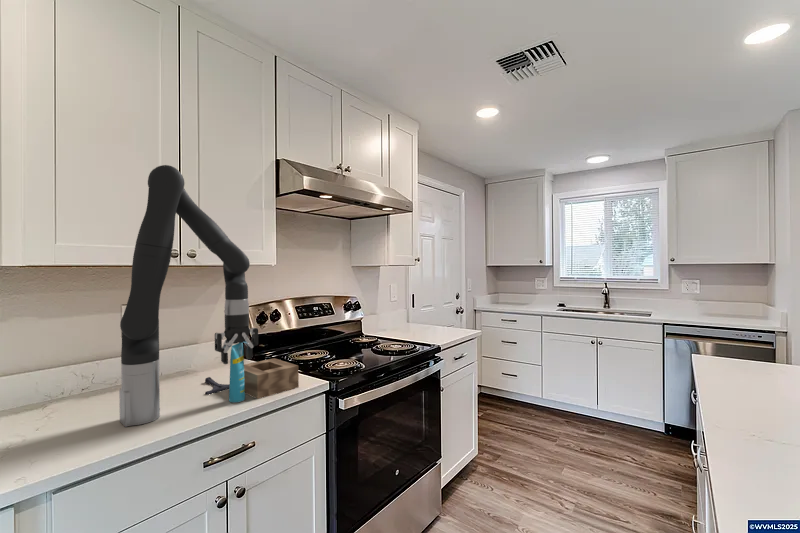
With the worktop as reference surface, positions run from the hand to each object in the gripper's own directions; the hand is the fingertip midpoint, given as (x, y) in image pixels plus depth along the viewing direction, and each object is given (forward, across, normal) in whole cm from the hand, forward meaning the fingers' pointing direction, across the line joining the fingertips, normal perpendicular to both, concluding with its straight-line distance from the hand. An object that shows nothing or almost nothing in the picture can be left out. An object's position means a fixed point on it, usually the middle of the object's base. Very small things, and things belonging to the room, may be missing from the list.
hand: (237, 361), depth 127 cm
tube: (+13, 0, 0) cm, 13 cm away
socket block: (+13, +13, +4) cm, 19 cm away
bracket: (+14, +2, +21) cm, 25 cm away
